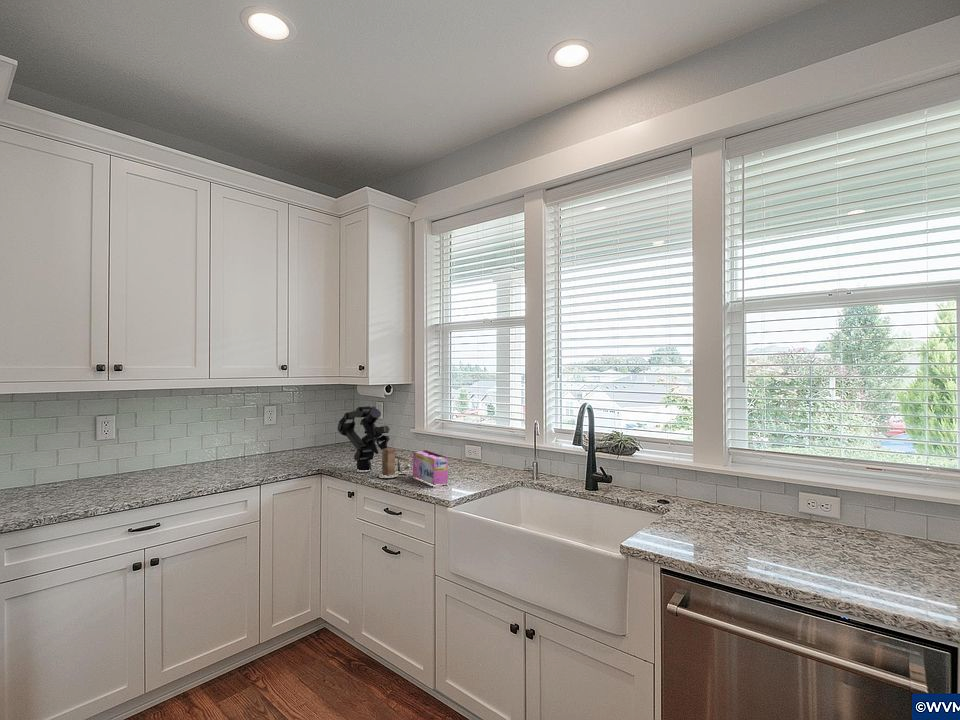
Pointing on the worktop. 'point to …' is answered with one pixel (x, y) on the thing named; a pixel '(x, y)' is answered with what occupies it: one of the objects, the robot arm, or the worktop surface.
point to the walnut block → (388, 461)
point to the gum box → (430, 467)
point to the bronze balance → (399, 463)
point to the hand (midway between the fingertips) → (382, 453)
